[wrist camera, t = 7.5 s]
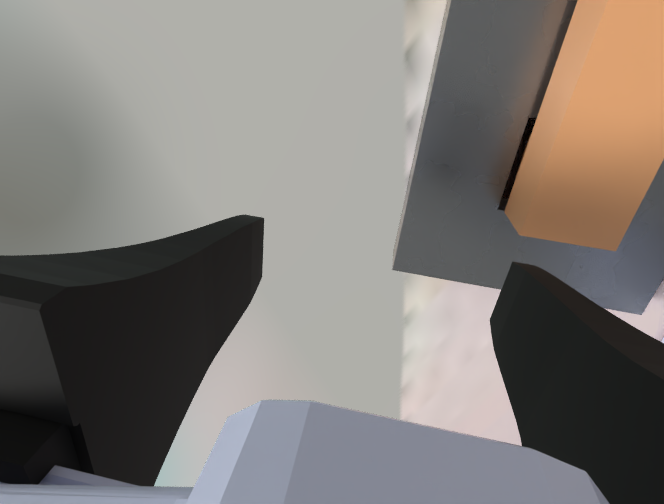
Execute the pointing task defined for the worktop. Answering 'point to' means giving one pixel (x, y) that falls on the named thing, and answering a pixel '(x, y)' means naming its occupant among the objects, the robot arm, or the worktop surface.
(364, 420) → the robot arm
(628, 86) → the clip
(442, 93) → the gray rectangular slab
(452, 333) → the worktop surface
